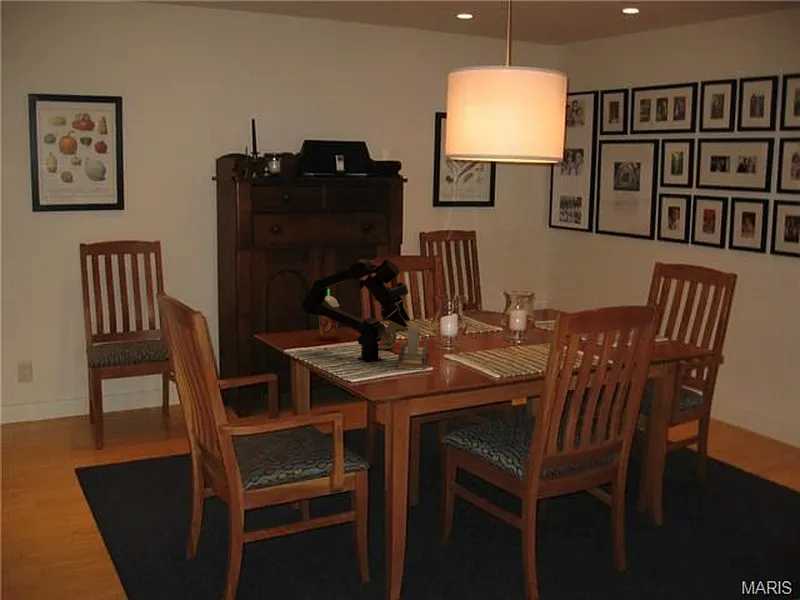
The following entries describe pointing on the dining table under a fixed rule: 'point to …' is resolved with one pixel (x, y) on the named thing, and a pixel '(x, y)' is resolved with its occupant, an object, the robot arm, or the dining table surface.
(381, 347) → the pocket watch
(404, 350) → the tan piece
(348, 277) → the robot arm
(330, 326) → the smoothie
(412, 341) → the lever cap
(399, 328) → the plant pot
